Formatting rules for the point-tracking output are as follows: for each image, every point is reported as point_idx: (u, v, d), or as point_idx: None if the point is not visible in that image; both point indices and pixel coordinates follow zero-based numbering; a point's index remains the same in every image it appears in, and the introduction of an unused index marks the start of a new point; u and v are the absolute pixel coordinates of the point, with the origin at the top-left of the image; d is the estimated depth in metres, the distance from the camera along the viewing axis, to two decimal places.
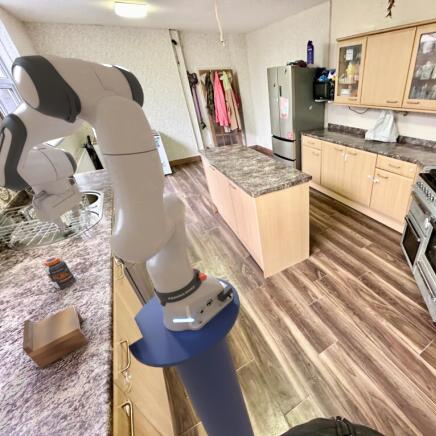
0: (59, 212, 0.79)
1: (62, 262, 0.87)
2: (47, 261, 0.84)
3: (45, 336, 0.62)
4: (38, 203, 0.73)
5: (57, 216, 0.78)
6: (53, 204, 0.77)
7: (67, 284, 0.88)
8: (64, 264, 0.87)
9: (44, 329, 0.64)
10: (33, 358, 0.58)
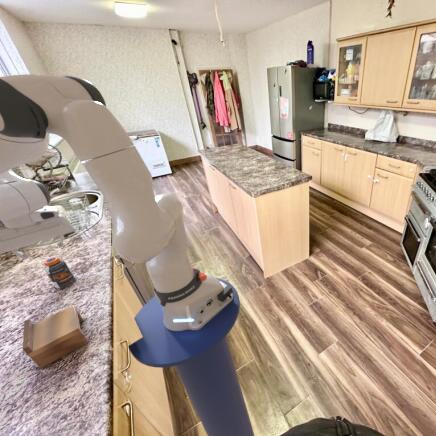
0: (11, 246, 0.76)
1: (62, 262, 0.87)
2: (47, 261, 0.84)
3: (45, 336, 0.62)
4: None
5: (4, 250, 0.75)
6: (5, 238, 0.74)
7: (67, 284, 0.88)
8: (64, 264, 0.87)
9: (44, 329, 0.64)
10: (33, 358, 0.58)
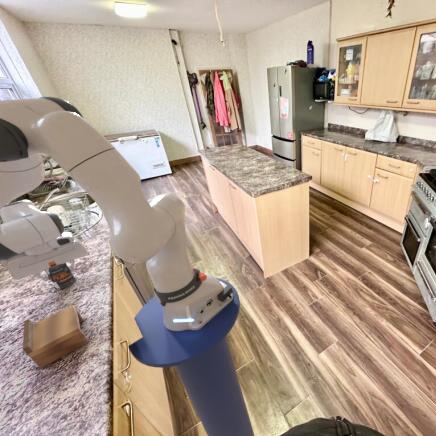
0: (30, 271, 0.81)
1: None
2: None
3: (45, 336, 0.62)
4: (5, 264, 0.77)
5: (24, 275, 0.80)
6: (25, 264, 0.79)
7: (67, 284, 0.88)
8: (64, 264, 0.87)
9: (44, 329, 0.64)
10: (33, 358, 0.58)
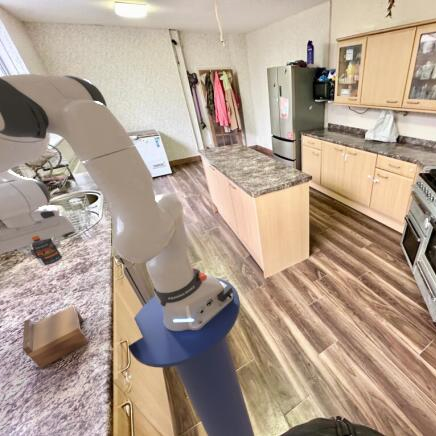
0: (12, 245, 0.76)
1: None
2: None
3: (45, 336, 0.62)
4: None
5: (6, 250, 0.75)
6: (6, 237, 0.74)
7: (53, 261, 0.83)
8: (49, 240, 0.82)
9: (44, 329, 0.64)
10: (33, 358, 0.58)
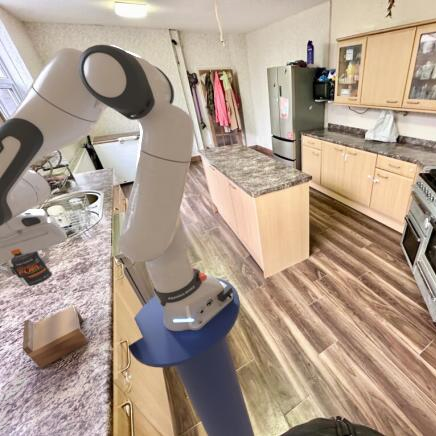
0: None
1: None
2: None
3: (45, 336, 0.62)
4: None
5: None
6: None
7: (39, 281, 0.65)
8: (34, 253, 0.64)
9: (44, 329, 0.64)
10: (33, 358, 0.58)
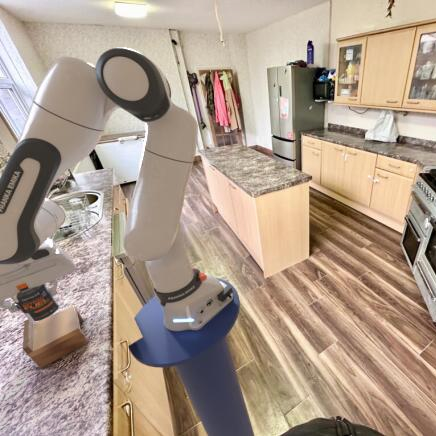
0: None
1: None
2: None
3: (45, 336, 0.62)
4: None
5: None
6: None
7: (46, 315, 0.60)
8: (41, 286, 0.59)
9: (44, 329, 0.64)
10: (33, 358, 0.58)
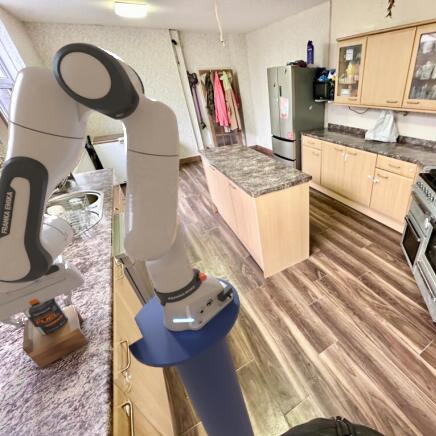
0: (1, 315, 0.55)
1: None
2: None
3: (45, 336, 0.62)
4: None
5: None
6: None
7: (56, 329, 0.63)
8: (52, 301, 0.61)
9: None
10: (33, 358, 0.58)
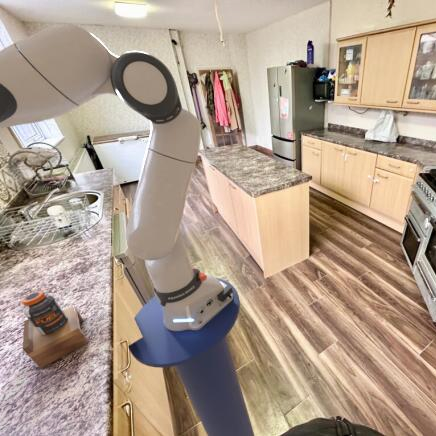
0: None
1: (49, 298, 0.61)
2: (27, 299, 0.59)
3: (45, 336, 0.62)
4: None
5: None
6: None
7: (56, 329, 0.63)
8: (52, 301, 0.61)
9: None
10: (33, 358, 0.58)
